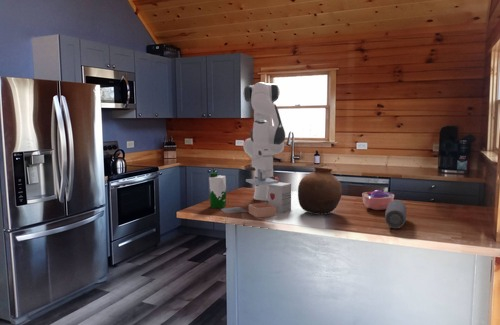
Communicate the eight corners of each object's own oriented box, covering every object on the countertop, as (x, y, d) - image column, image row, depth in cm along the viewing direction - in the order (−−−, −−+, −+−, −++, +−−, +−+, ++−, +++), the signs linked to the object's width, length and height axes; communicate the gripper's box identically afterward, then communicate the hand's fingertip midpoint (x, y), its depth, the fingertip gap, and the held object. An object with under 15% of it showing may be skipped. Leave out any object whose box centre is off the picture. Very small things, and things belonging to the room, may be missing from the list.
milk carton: (213, 205, 226) (212, 171, 224) (227, 205, 224) (227, 172, 222) (208, 208, 218) (207, 174, 215) (223, 209, 216) (223, 174, 214)
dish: (267, 211, 209) (267, 202, 208) (276, 216, 199) (276, 206, 198) (248, 213, 205) (248, 204, 204) (256, 218, 195) (256, 208, 194)
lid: (245, 181, 204) (245, 171, 203) (268, 179, 208) (267, 170, 208) (255, 185, 192) (254, 174, 191) (278, 183, 196) (278, 173, 196)
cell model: (395, 206, 216) (396, 186, 215) (392, 214, 198) (393, 193, 197) (364, 204, 223) (364, 185, 222) (359, 211, 205) (359, 191, 204)
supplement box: (268, 210, 211) (268, 183, 209) (278, 207, 218) (278, 181, 216) (281, 213, 205) (281, 185, 203) (291, 210, 211) (291, 183, 210)
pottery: (293, 216, 197) (293, 168, 194) (303, 207, 218) (303, 163, 215) (338, 220, 188) (338, 170, 185) (344, 210, 210) (345, 164, 207)
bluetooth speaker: (386, 217, 192) (386, 198, 191) (406, 219, 189) (407, 199, 188) (383, 229, 172) (384, 208, 170) (405, 232, 168) (406, 209, 167)
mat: (239, 207, 219) (239, 206, 219) (247, 212, 208) (247, 211, 208) (219, 209, 215) (219, 208, 215) (226, 214, 204) (226, 213, 204)
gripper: (248, 150, 207) (248, 175, 208) (263, 153, 188) (263, 180, 189) (259, 149, 209) (259, 174, 210) (275, 152, 190) (275, 179, 191)
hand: (261, 177), depth 200 cm, fingers closed on lid, 3 cm apart
